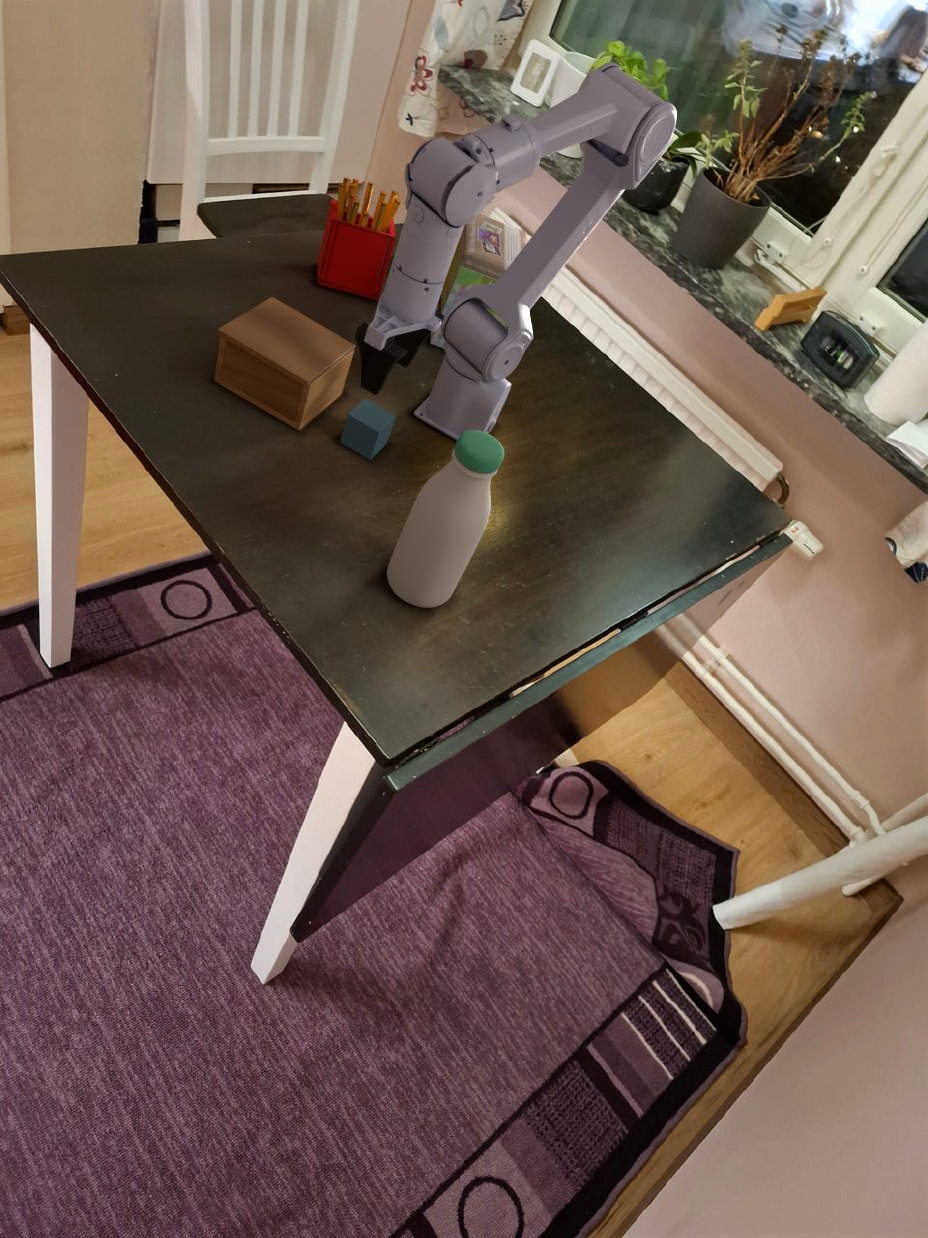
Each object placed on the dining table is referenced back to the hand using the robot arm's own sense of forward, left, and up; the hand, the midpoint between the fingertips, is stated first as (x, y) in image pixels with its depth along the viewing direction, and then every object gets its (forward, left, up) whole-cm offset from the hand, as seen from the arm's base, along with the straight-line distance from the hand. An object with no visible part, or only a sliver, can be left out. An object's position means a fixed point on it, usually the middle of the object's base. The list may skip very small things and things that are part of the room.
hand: (384, 376), depth 95 cm
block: (0, 0, -10) cm, 10 cm away
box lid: (+13, -1, -3) cm, 13 cm away
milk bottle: (-16, +16, -10) cm, 25 cm away
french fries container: (+20, -31, -10) cm, 38 cm away
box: (+13, -1, -10) cm, 16 cm away
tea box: (+2, -36, -10) cm, 37 cm away
